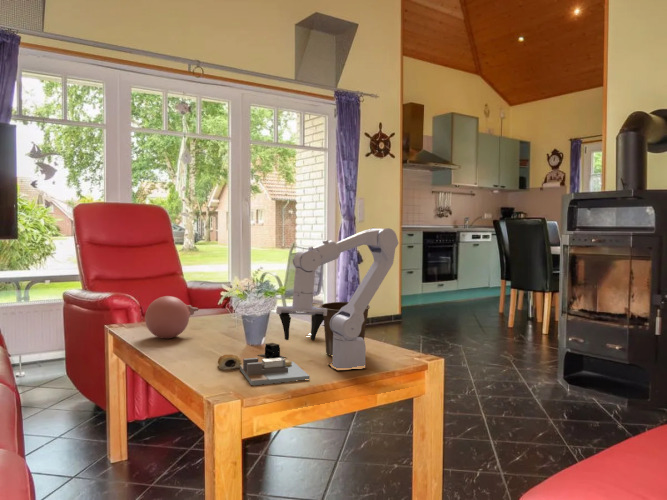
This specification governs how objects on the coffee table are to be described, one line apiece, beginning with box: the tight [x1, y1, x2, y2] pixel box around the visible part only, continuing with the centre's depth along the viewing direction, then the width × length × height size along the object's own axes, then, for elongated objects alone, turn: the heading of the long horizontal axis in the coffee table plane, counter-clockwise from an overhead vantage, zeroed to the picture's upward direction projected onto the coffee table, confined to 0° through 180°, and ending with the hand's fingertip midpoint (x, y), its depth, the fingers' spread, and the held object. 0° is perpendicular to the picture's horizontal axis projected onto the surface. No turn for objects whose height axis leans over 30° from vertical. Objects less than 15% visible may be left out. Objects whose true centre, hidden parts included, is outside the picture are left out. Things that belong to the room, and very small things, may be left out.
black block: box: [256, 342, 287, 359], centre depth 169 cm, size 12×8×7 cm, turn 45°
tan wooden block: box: [261, 358, 286, 369], centre depth 148 cm, size 6×3×3 cm, turn 111°
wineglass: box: [303, 302, 321, 335], centre depth 202 cm, size 7×7×12 cm
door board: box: [239, 357, 310, 386], centre depth 148 cm, size 16×16×4 cm
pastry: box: [217, 353, 243, 371], centre depth 157 cm, size 9×7×4 cm
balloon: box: [144, 295, 199, 339], centre depth 194 cm, size 15×20×15 cm
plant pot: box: [320, 301, 371, 355], centre depth 173 cm, size 16×16×16 cm
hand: (299, 339), depth 151 cm, fingers open, 7 cm apart
